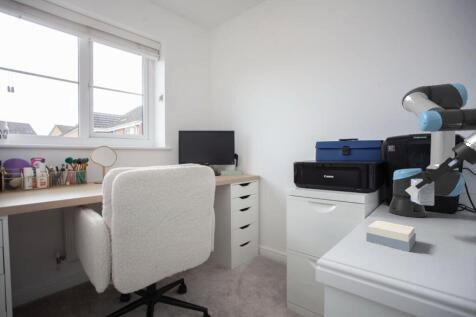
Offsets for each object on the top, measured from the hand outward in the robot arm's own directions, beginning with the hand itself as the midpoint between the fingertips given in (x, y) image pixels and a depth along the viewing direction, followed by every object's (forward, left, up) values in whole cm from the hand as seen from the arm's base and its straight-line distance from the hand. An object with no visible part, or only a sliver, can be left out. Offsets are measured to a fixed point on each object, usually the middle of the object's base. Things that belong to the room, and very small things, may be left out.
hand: (410, 191), depth 83 cm
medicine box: (0, +3, -4) cm, 5 cm away
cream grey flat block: (+16, -3, -16) cm, 22 cm away
